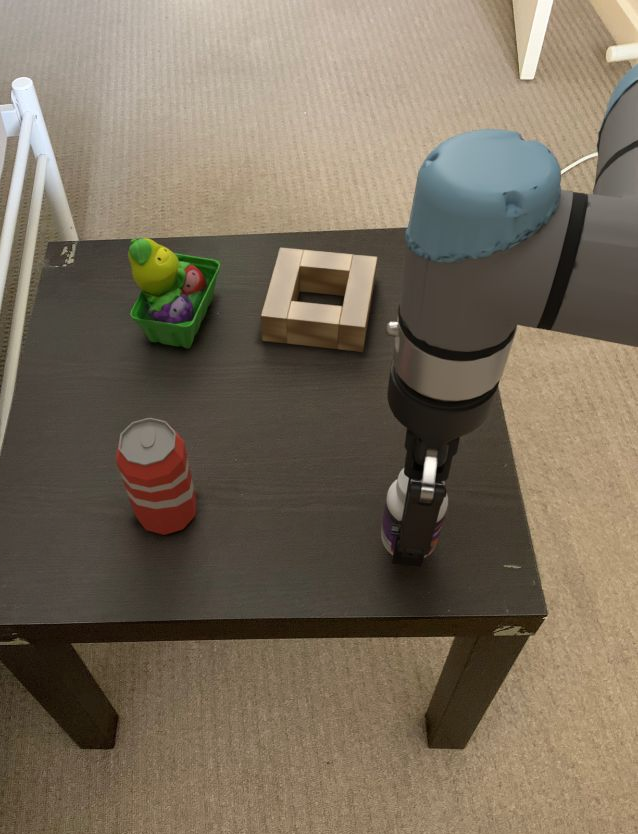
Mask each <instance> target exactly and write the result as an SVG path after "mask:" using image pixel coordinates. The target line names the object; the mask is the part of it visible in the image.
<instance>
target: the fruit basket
mask: <svg viewBox="0 0 638 834" xmlns="http://www.w3.org/2000/svg"><path fill="white" fill-rule="evenodd" d="M130 243H131V245H130V246H129V248H128V252H127V257H128V261H129V263H130V266H131V267H130V268H131V275H132V278H133V280H134V282H135V284H136V285H137V287H138V288H139V289H140V293H139V294H138V297H137V298H136V300H135V302H134V304H133V306H132V308H131V310H130V313H129V314H130V317H131V318H132V319H133V320H134V321H135V323H137V325H138V326H139V327H140V329H141V330H142V331H143V333H144V335H145V336H146V337H147V339H148V340H149V341H150V342H151V343H160V344H162V345H167V346H172V347H182V348H184V349H190V348H191V347H192V345H193V342H194V339H195V336H196V335H197V334H198V332H199V330H200V328H201V323H202V321H203V320H204V319H205V316H206V314H207V312H208V308H209V307H210V305H211V304H212V301H213V299H214V292H215V287H216V282H217V277H218V275H219V272H220V268H221V262H220V261H219V260H216V259H212V258H205V257H200V256H194V255H188V254H183V253H178V252H177V253H176V252H173V251H172V250H170V249H169V248H168V247H166V246H164V245H162V244H159V243H157V242H156V241H154V240H153V239H151V238H147V237H143V238H138V239H137V238H136V237H133V238H132V239H131V240H130Z"/></svg>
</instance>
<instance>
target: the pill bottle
mask: <svg viewBox="0 0 638 834" xmlns="http://www.w3.org/2000/svg"><path fill="white" fill-rule="evenodd" d="M408 480H409V478H408V477H407V476H405V474H404V467H403V468H402V469H401V471H400V472H399V474H398V476H397V479H395V480H393V482H392V483H391V485H389V488H388V490H387V493H386V497H385V498H386V499H385V504H384V511H383V517H382V522H381V529H380V530H381V531H380V537H381V538H380V539H381V542H382V544H383V546H384V548H385V550H386V551H387V552H388V553H389V554H390V555H392V556H393V552H394V547H395V542H396V536H392V535H391V528H392V524H399V520H400V521H402V516H403V510H404V504H405V498H406V492H407V486H408ZM443 483H444V485H445V486H446V481H443ZM448 507H449V497H448V492H447V493H446V497H445V498H444V500H443V503H442V505H441V507H440V511H439V515H438V519H437V522H436V526H435V530H434V534H433V538H432V542H431V551H429V554H428V555H424V559H425V558H427V557H428V556H429V555H431V554H432V553H433V552H434V550H435V549H436V547H437V544H438V541H439V538H440V534H441V531H442V527H443V524H444V521H445V518H446V514H447V511H448Z"/></svg>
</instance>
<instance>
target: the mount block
mask: <svg viewBox="0 0 638 834" xmlns="http://www.w3.org/2000/svg"><path fill="white" fill-rule="evenodd" d="M377 265H378V256H373V255H361V254H353V253H344V252H343V253H342V252H334V251H333V252H332V251H322V250H312V249H311V250H310V249H299V248H290V247H279V249H278V253H277V257H276V260H275V264H274V268H273V270H272V274H271V278H270V281H269V285H268V289H267V293H266V296H265V299H264V302H263V303H264V304H263V308H262V310H261V314H260V324H261V340H262V341H263V342H269V343H270V342H271V343H279V344H287V345H297V346H305V347H315V348H324V349H332V350H341V351H351V352H357V353H363V352H364V348H365V344H366V343H365V342H366V337H367V332H368V331H367V330H368V326H369V325H368V324H369V320H370V313H371V308H372V307H371V306H372V300H373V297H374V296H373V295H374V289H375V283H376V275H377V267H378V266H377ZM300 292H301V293H311V294H319V295H331V296H341V297H343V302H342V305H334V304H326V303H325V304H324V303H315V302H305V301H298V299H299V296H300Z"/></svg>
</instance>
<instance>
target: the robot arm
mask: <svg viewBox="0 0 638 834" xmlns="http://www.w3.org/2000/svg"><path fill="white" fill-rule="evenodd" d="M597 135H598V136H597V142H596V151H597V162H596V170H595V177H594V178H595V180H594V186H593V189H592V193H585V192H577V191H573V190H567V189H562V186H561V182H562V170H561V165H560V162H559V161H558V159H557V156H555V154H554V153H553V151H551V149H550V148H549V147H548V146H546V145H545V144H543V143H542V142H541V141H539V140H526V139H523V136H522V134H521V133H519V132H517V131H514V130H509V129H499V128H482V129H474V130H470V131H469V130H468V131H465V132H462V133H458V134H456V135H453V136H451V137H449V138H447V139H446V140H444V141H441V143H440V144H438V145H437V146H436V147H434V148H433V149H432V150H431V151H430V153H428V154H427V156H426V157H425V159H424V161H423V163H422V164H421V166H420V167H419V169H418V172H417V176H416V181H415V182H416V183H415V188H414V194H413V199H412V203H411V210H410V214H409V215H410V216H409V219H408V224H407V227H406V230H405V235H404V241H405V245H404V253H403V264H402V273H401V282H400V291H399V292H400V294H399V301H398V308H397V309H398V310H397V321H389V322H388V323H387V325H386V330H385V332H386V335H387V336H388V337H395V338H394V344H393V352H392V359H391V363H390V368H389V377H388V387H387V403H388V407H389V409H390V411H391V413H392V414H393V416H394V417H395V419H396V420H397V421H398V422H399V423H400V424H401V425H402V426H403V427H404V428H406V432H405V439H404V440H405V441H404V448H405V450H406V452H405V453H406V454H405V460H404V467H403V468H404V474H405V476H407V477H408V478H409V480H408V486H407V492H406V498H405V504H404V510H403V516H402V521H400V520H399V524H392V528H391V535H392V536H396V542H395V547H394V552H393V555H392V559H391V564H393V565H400V566H405V567H406V566H407V567H413V568H420V569H421V568H422V567H423V562H424V559H425V558H424V555H428V554H429V551H431V542H432V538H433V534H434V530H435V526H436V522H437V519H438V515H439V511H440V507H441V505H442V503H443V500H444V498H445V497H446V493H447V494H448V492H447V491H448V490H447V487H446V484H445V485H444V483H443V481H445V482H446V481H447V480H448V479H449V475H450V471H451V466H452V461H453V458H454V456H456V455H457V453H458V451H459V445H460V441H461V437H463V436H466V435H468V434H470V433H473V432H474V431H476V430H477V429H478V428H479V427H480V426H483V424H484V423H485V421H487V419H488V418H489V415H490V413H491V411H492V408H493V404H494V401H495V398H496V395H497V392H498V389H499V385H500V381H501V379H502V377H503V374H504V371H505V368H506V366H507V365H506V364H507V362H508V358H509V355H510V353H511V349H512V346H513V343H514V340H515V337H516V333H517V329H518V326H519V327H526V328H532V329H539V330H545V331H550V332H551V331H552V332H556V333H561V334H566V335H572V336H575V337H576V336H577V337H582V338H587V339H591V340H598V341H603V342H608V343H612V344H613V343H614V344H619V345H623V346H629V347H633V348H638V63H636V64H635V65H634V66H633V67H631V69H630V70H628V71H627V72H626V73H625V74H624V76H623V77H622V78H621V79H620V80H619V82H618V83H617V84H616V86H615V88H614V89H613V91H612V93H611V95H610V98H609V100H608V103H607V106H606V111H605V114H604V117H603V119H602V121H601V125H600V128H599V130H598V132H597ZM429 555H430V554H429ZM429 555H428V556H429Z"/></svg>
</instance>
